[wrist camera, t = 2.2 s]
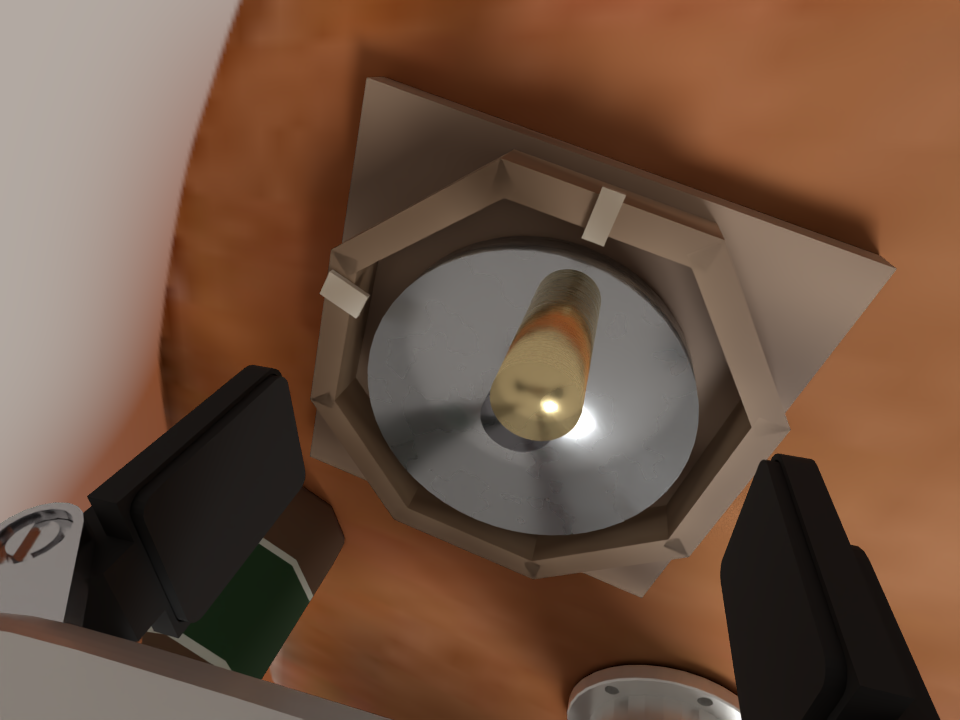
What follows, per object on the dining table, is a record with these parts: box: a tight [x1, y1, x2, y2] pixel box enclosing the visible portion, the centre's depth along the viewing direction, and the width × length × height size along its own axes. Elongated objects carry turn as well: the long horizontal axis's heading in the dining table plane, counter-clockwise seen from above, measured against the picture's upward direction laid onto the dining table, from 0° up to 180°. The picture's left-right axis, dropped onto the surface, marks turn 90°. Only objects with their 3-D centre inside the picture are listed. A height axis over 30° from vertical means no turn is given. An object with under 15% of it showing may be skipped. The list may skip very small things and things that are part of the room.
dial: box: [368, 236, 699, 535], centre depth 20 cm, size 14×14×9 cm
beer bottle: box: [142, 486, 344, 679], centre depth 26 cm, size 8×8×24 cm
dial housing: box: [310, 77, 896, 598], centre depth 24 cm, size 20×20×4 cm
